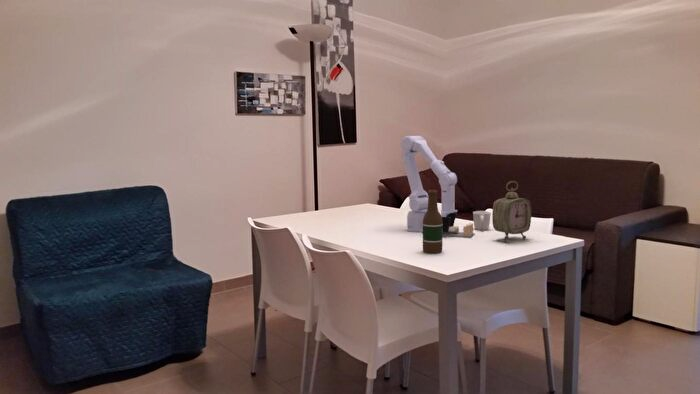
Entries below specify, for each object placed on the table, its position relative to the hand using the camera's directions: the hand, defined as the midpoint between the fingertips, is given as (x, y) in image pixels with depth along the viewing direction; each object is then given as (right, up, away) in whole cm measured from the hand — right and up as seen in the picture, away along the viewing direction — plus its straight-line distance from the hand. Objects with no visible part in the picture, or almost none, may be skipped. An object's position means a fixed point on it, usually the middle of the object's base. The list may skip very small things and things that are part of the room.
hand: (448, 230), depth 244 cm
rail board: (+1, -2, 0) cm, 2 cm away
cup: (+17, -1, +10) cm, 20 cm away
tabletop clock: (+24, -3, -13) cm, 28 cm away
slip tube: (-1, -2, +1) cm, 2 cm away
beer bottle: (-12, -7, -32) cm, 34 cm away
